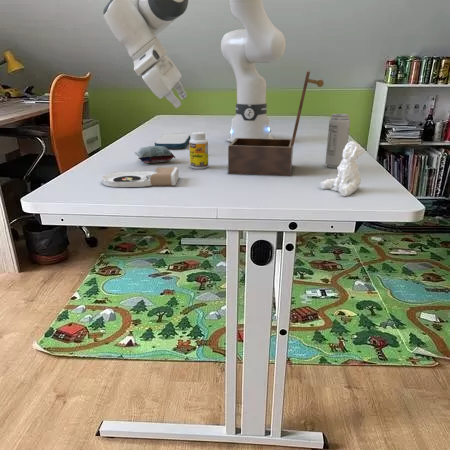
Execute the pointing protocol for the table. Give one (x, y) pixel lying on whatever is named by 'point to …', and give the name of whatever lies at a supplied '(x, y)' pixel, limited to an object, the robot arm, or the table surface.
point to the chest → (260, 156)
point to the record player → (143, 178)
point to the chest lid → (307, 80)
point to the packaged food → (154, 154)
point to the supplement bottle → (198, 151)
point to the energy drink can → (337, 139)
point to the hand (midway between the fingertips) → (182, 102)
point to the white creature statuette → (346, 171)
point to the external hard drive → (173, 140)
